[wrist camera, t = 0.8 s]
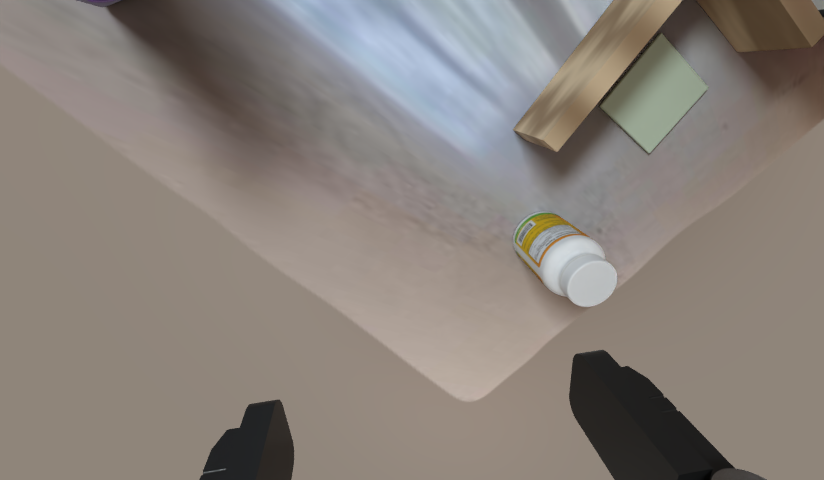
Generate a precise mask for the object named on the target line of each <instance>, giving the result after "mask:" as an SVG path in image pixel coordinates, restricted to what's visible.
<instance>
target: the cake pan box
mask: <svg viewBox="0 0 824 480" xmlns="http://www.w3.org/2000/svg"><path fill="white" fill-rule="evenodd" d="M77 1H81V2H84V3H88V4H92V5H95V6H99V7H105V6H108V5H111V4H113V3H116V2H119V1H122V0H77Z"/></svg>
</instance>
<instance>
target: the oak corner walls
mask: <svg viewBox="0 0 824 480" xmlns="http://www.w3.org/2000/svg"><path fill="white" fill-rule="evenodd" d="M681 1H682V0H613V1H612V3H611V4H610V5H609V7H608V8H607V9H606V10H605V12H604V13H603V14H602V16H601V17H600V18H599V19H598V21H597V22H596V23H595V25H594V26H593V27H592V28H591V30H590V31H589V32H588V34H587V35H586V36H585V37H584V39H583V40H582V41H581V43H580V44H579V45H578V46H577V48H576V49H575V50H574V52H573V53H572V54H571V55H570V57H569V58H568V59H567V61H566V62H565V63H564V64H563V66H562V67H561V68H560V70H559V71H558V72H557V74H556V75H555V76H554V77H553V79H552V80H551V81H550V83H549V84H548V85H547V86H546V88H545V89H544V90H543V92H542V93H541V94H540V95H539V97H538V98H537V99H536V101H535V102H534V103H533V104H532V106H531V107H530V108H529V110H528V111H527V112H526V113H525V115H524V116H523V117H522V119H521V120H520V121H519V122H518V124H517V125H516V126H515V128H514V129H513V130H514V131H515V132H516V133H517V134H519V135H520V136H521V137H522V138H523V139H525V140H527V141H529V142H532V143H534V144H537V145H540V146H542V147H545V148H548V149H550V150H553V151H556V152H558V150H559V149H560V148H561V147H562V146H563V144H564V143H565V142H566V141H567V140H568V138H569V137H570V136H571V135H572V133H573V132H574V131H575V130H576V129H577V127H578V126H579V125H580V124H581V123H582V121H583V120H584V119H585V118H586V117H587V115H588V114H589V113H590V112H591V110H592V109H593V108H594V107H595V106H596V104H597V103H598V102H599V101H600V100H601V98H602V97H603V96H604V95H605V93H606V92H607V91H608V90H609V89H610V87H611V86H612V85H613V84H614V83H615V81H616V80H617V79H618V78H619V77H620V75H621V74H622V73H623V72H624V70H625V69H626V68H627V67H628V66H629V64H630V63H631V62H632V61H633V60H634V58H635V57H636V56H637V55H638V53H639V52H640V51H641V50H642V49H643V47H644V46H645V45H646V44H647V43H648V41H649V40H650V39H651V38H652V36H653V35H654V34H655V33H656V32H657V30H658V29H659V28H660V27H661V26H662V24H663V23H664V22H665V21H666V20H667V18H668V17H669V16H670V15H671V13H672V12H673V11H674V10H675V9H676V7H677V6H678V5H679V4H680V3H681ZM697 2H698V3H699V4H700V6H701V7H702V8H703V9H704V11H705V12H706V13H707V14H708V16H709V17H710V18H711V20H712V21H713V22H714V23H715V25H716V26H717V27H718V28H719V30H720V31H721V32H722V33H723V35H724V36H725V37H726V39H727V40H728V41H729V42H730V44H731V45H732V46H733V47H734V49H735V50H736V51H737V52H750V51H765V50H780V49H796V48H811V47H813V46H814V45H815V44H816V43H817V42H818V41H819V40H820V39H821V38H822V37H823V35H824V19H823V17H822V16H821V14H820V12H819V11H818V9H817V8H816V6H815V5H814V3H813V2H812V0H697Z"/></svg>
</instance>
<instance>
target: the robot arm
mask: <svg viewBox="0 0 824 480" xmlns="http://www.w3.org/2000/svg"><path fill="white" fill-rule="evenodd" d="M569 399H570V405H571V408H572V411H573V414H574V416H575V418H576V420H577V421H578V423H579V425H580V426H581V428H582V429H583V431H584V432H585V434H586V436H587V437H588V438H589V440H590V442H591V443H592V445H593V447H594V448H595V450H596V451H597V453H598V454H599V456H600V457H601V459H602V461H603V462H604V464H605V465H606V467H607V468H608V470H609V472H610V473H611V475H612V476H613V478H614V479H615V480H766V479H765V478H762V477H760V476H759V475H756V474H754V473H751V472H748V471H745V470H740V469H735V468H734V467H733V466H732V465H731V464H730V463H729V462H728V461H727V460H726V459H725V458H724V457H723V456H722V455H721V454H720V453H719V452H718V451H717V449H716V448H715V447H714V446H713V445H712V444H711V443H710V442H709V441H708V440H707V439H706V438H705V437H704V436H703V435H702V434H701V433H700V432H699V431H698V430H697V429H696V428H695V427H694V426H693V425H692V424H691V423H690V421H689V420H688V419H687V418H686V417H685V416H684V415H683V414H682V413H681V412H680V411H677V410H676V407H675V406H674V405H673V404H672V403H671V402H670V401H669V400H668V399H667V398H664V396H663V394H662V392H661V391H660V390H659V389H657V387H655V385H654V384H653V383H652V382H651V381H650V380H649V379H648V378H646V377H645V376H643V375H641V374H640V373H638V372H636V371H635V370H633V369H632V368H630V367H628V366H625V367H620V366H619V365H618V363H617V362H616V361H615V360H614V359H613V358H612V357H611V356H610V355H609V354H608V353H607V352H606V351H604V350H598V351H592V352H585V353H579V354H576V355H575V356H574V358H573V364H572V374H571V383H570V393H569ZM293 465H294V446H293V440H292V436H291V433H290V429H289V426H288V422H287V419H286V415H285V412H284V408H283V405H282V402H281V401H280V400H273V401H266V402H260V403H254V404H249V405H248V407H247V409H246V411H245V414H244V417H243V420H242V423H241V426H240V428H235V429H229V430H227V431H226V432H225V433H224V435H223V436H222V437H221V438H220V440H219V441H218V442H217V443H216V445H215V446H214V447H213V448H212V450H211V452H210V455H209V457H208V460H207V462H206V465H205V467H204V470H203V475H202V476H201V478H200V480H291V477H292V471H293Z"/></svg>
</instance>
